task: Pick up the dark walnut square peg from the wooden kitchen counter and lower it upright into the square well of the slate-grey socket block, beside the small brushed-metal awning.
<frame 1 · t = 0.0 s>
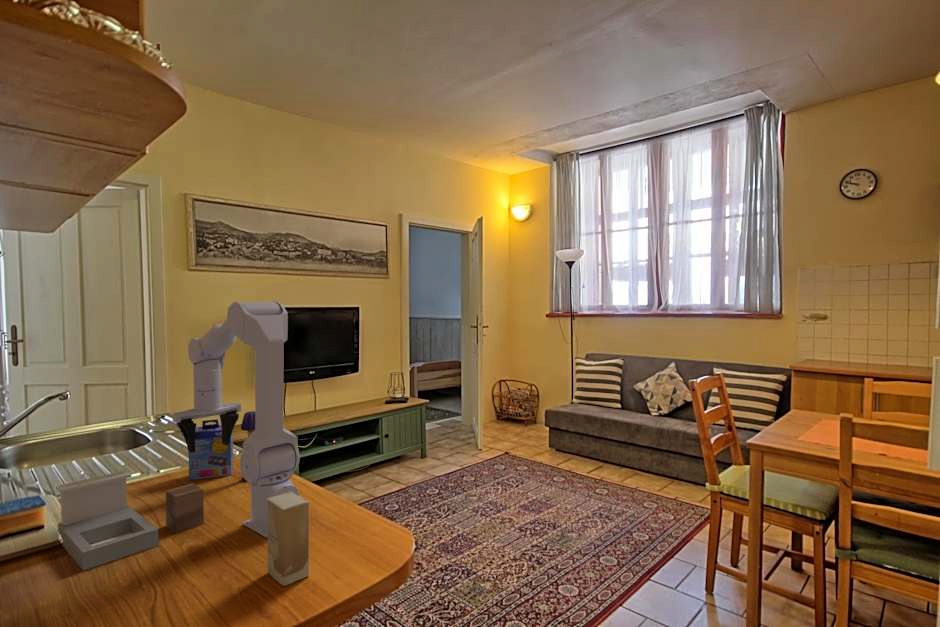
hand: (209, 447, 117), 10 cm above the kitchen counter, tool pointing down, fingers open, 7 cm apart
socket block: (112, 547, 90), on the kitchen counter
walnut peg: (185, 525, 99), on the kitchen counter
skincare box: (288, 576, 80), on the kitchen counter
ink cartridge box: (211, 475, 128), on the kitchen counter
toy lamp: (251, 479, 125), on the kitchen counter
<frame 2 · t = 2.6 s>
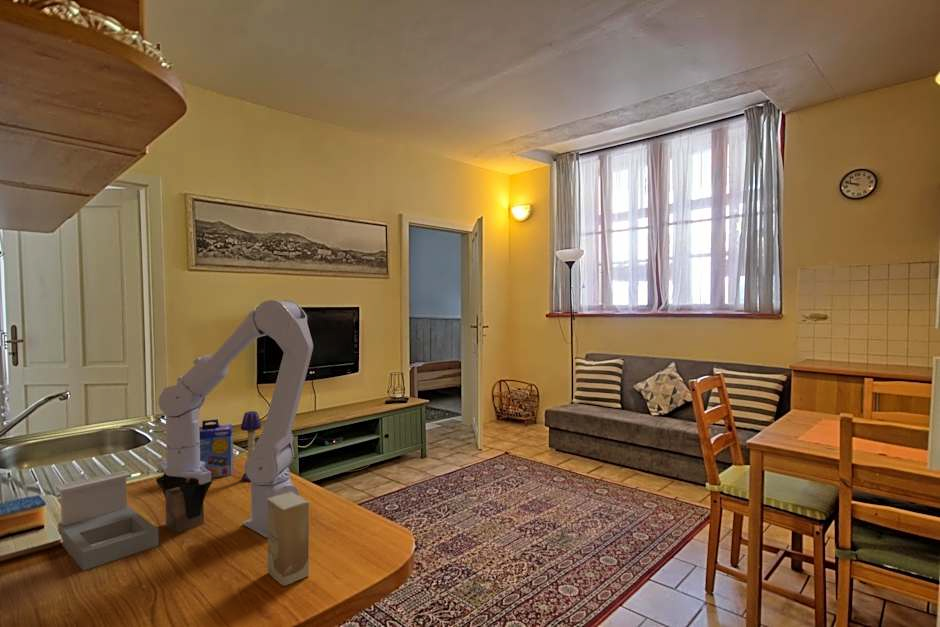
hand: (184, 513, 99), 2 cm above the kitchen counter, tool pointing down, fingers closed on walnut peg, 6 cm apart
walnut peg: (185, 524, 99), on the kitchen counter, touching gripper
everything else where it was.
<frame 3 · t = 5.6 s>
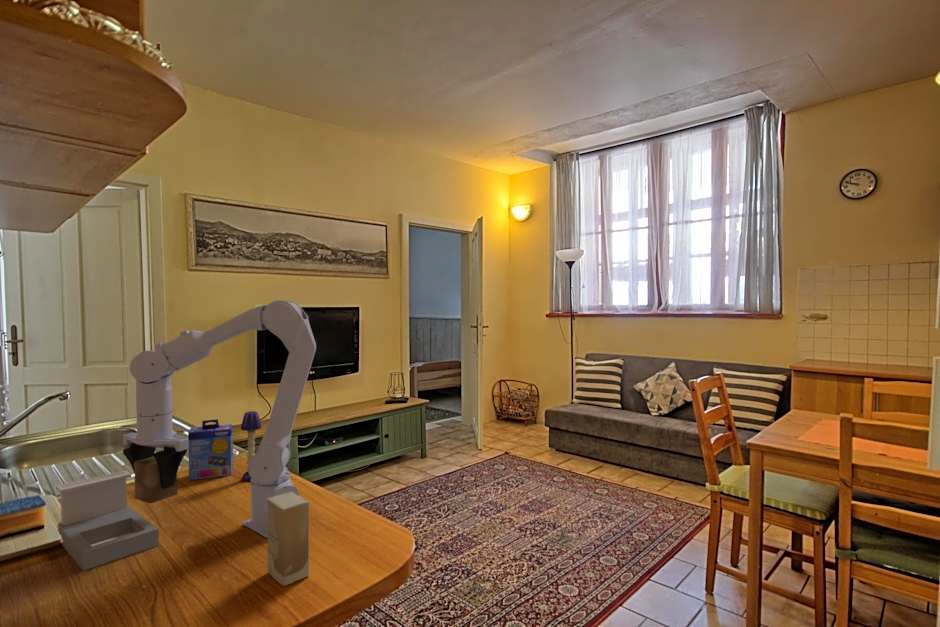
hand: (156, 484, 95), 9 cm above the kitchen counter, tool pointing down, fingers closed on walnut peg, 6 cm apart
walnut peg: (156, 496, 95), point 7 cm above the kitchen counter, touching gripper
everything else where it was.
when the fingers open (3 cm above the kitchen counter, at t = 8.6 s): walnut peg stays where it is, resting on socket block.
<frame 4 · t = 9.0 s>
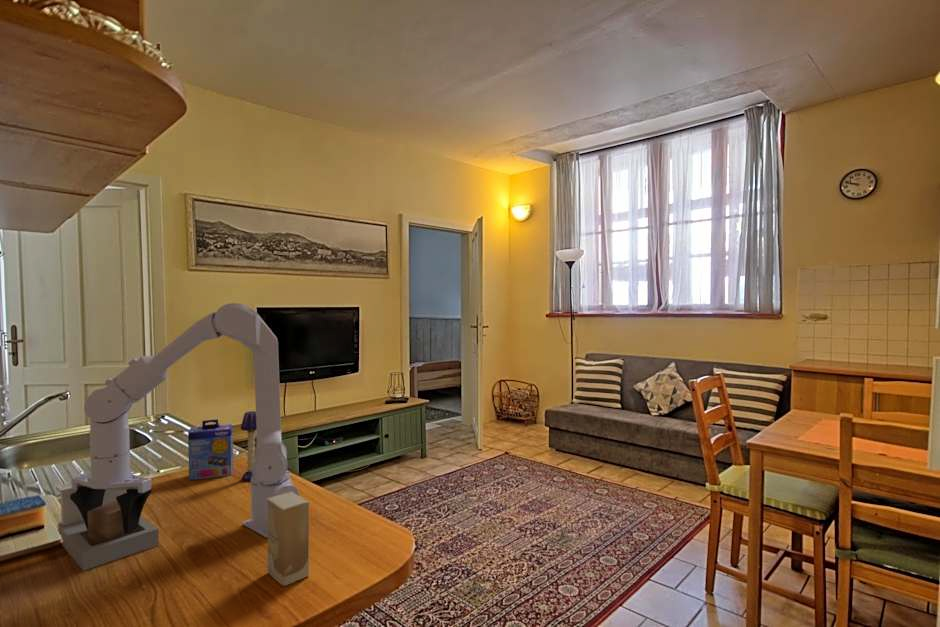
hand: (112, 529, 90), 3 cm above the kitchen counter, tool pointing down, fingers open, 7 cm apart
walnut peg: (113, 546, 90), resting on socket block
everything else where it was.
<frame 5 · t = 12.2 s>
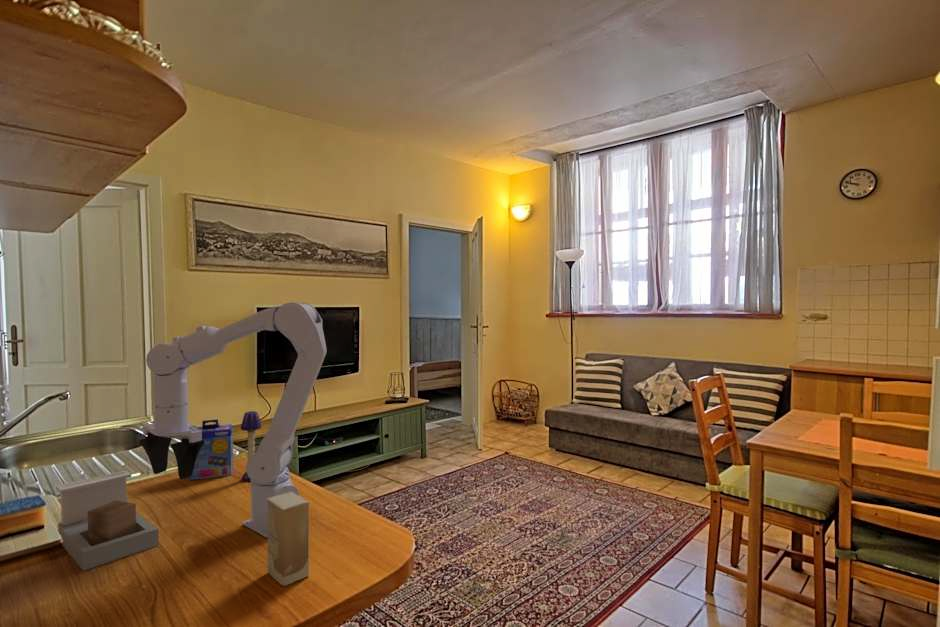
hand: (172, 475, 97), 10 cm above the kitchen counter, tool pointing down, fingers open, 7 cm apart
nothing on the kitchen counter moved.
at the end: walnut peg 0.0 cm off-centre on the socket block, point 0.3 cm above the socket block's base; walnut peg tilted 0°; the gripper is holding nothing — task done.
